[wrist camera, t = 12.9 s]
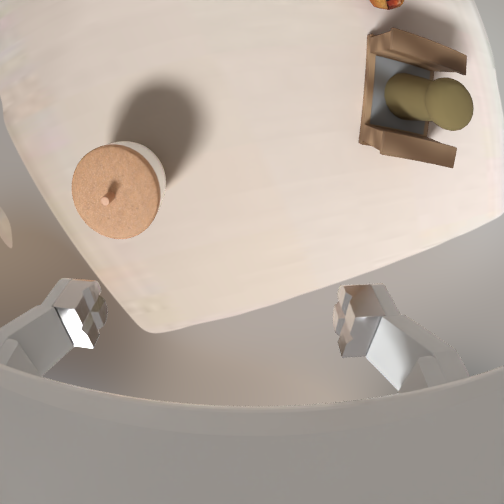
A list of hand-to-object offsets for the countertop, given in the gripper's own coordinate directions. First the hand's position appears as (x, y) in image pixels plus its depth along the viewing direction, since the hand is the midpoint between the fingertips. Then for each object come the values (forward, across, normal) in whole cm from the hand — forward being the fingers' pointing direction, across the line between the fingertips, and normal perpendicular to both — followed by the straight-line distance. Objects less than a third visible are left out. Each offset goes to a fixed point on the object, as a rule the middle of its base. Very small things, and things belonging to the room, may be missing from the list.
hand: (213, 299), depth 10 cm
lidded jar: (+28, +13, +4) cm, 31 cm away
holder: (+28, -19, -7) cm, 34 cm away
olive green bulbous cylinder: (+26, -19, -8) cm, 34 cm away
